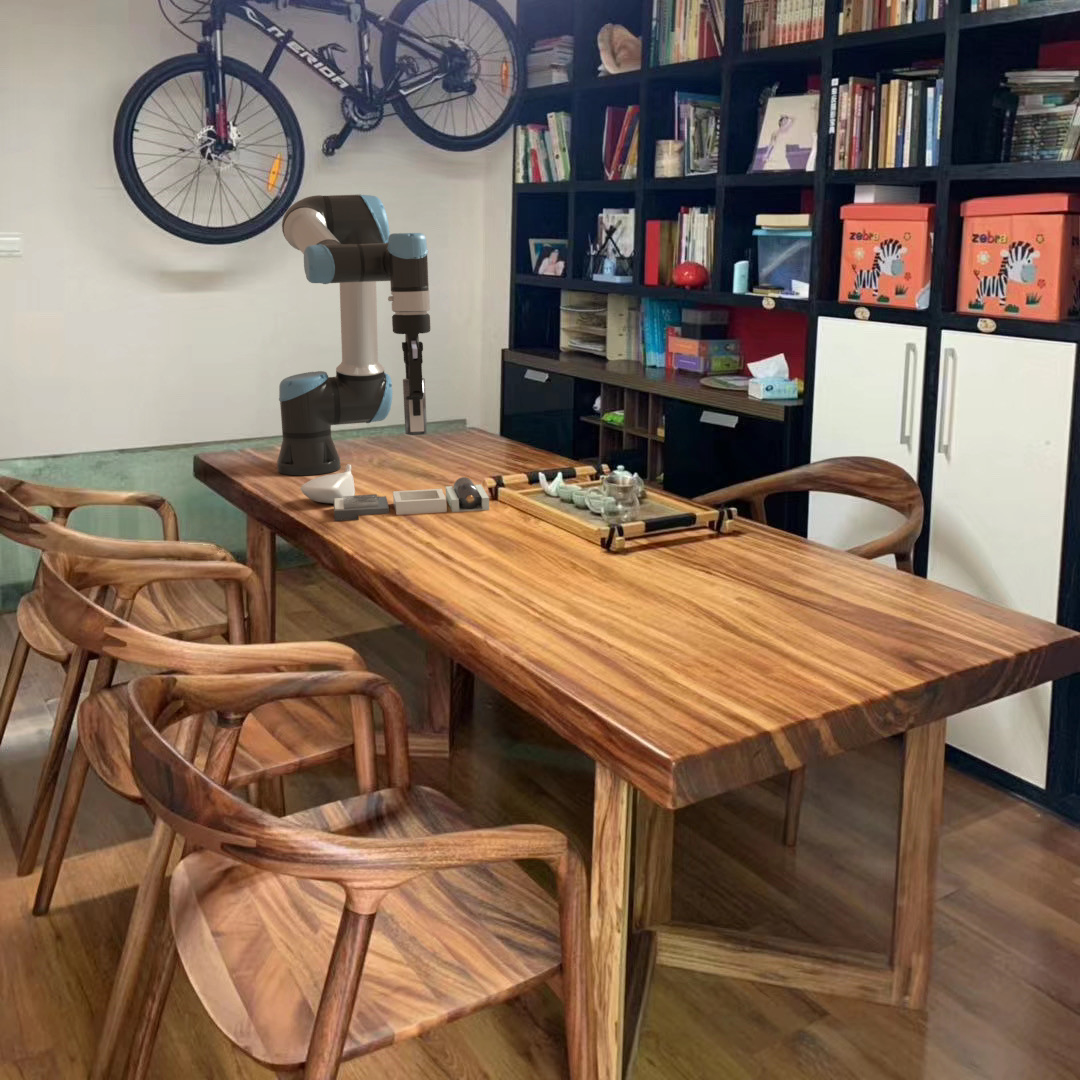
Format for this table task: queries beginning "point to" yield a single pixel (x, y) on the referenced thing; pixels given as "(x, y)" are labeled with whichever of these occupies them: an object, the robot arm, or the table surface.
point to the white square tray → (419, 501)
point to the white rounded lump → (330, 487)
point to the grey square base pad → (358, 509)
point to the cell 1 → (406, 408)
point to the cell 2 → (467, 493)
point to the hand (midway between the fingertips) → (416, 429)
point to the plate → (360, 501)
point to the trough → (457, 507)
